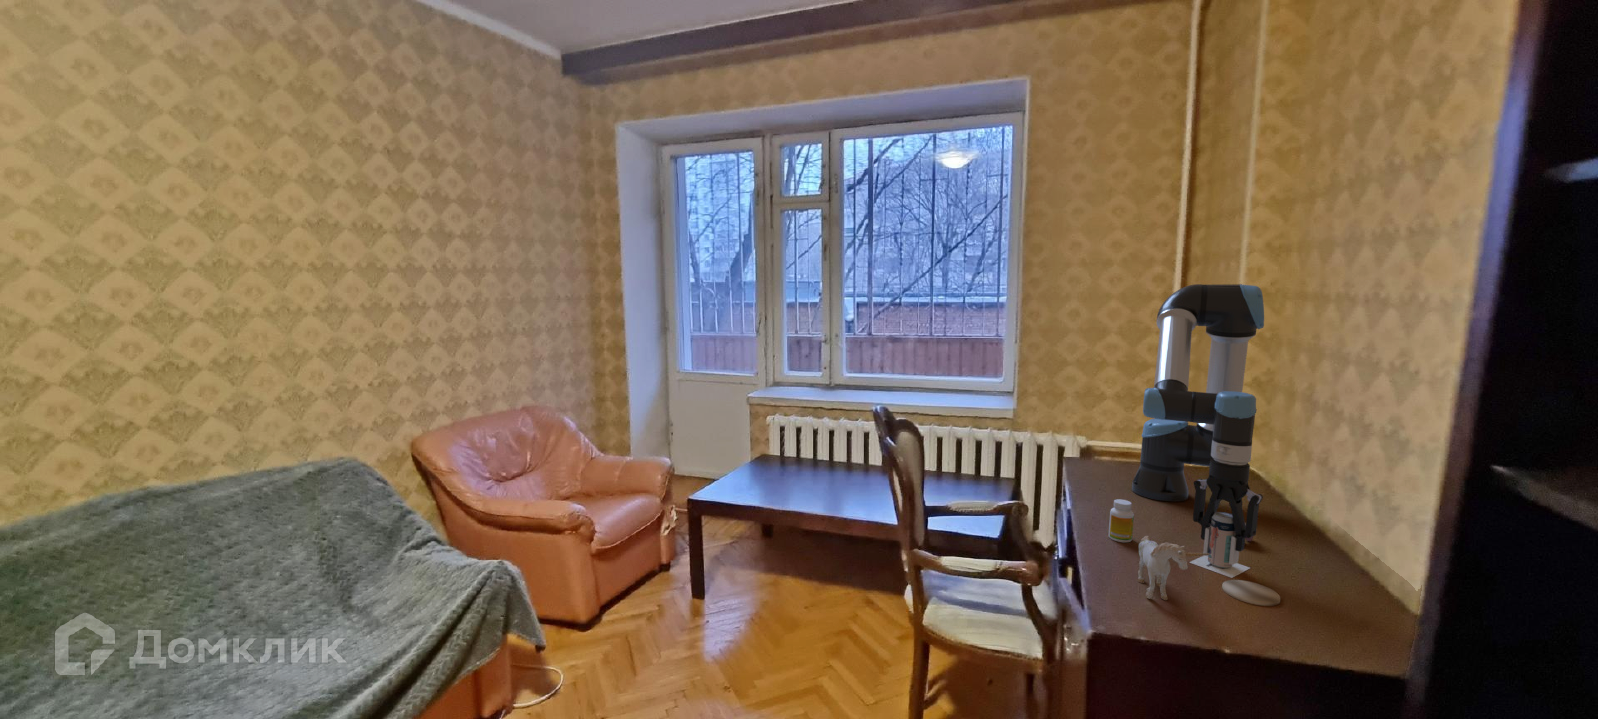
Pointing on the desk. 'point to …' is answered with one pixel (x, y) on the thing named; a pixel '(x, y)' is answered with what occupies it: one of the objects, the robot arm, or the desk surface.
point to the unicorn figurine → (1160, 563)
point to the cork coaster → (1251, 592)
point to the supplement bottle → (1121, 521)
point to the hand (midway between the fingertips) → (1220, 558)
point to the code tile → (1229, 572)
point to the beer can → (1221, 539)
